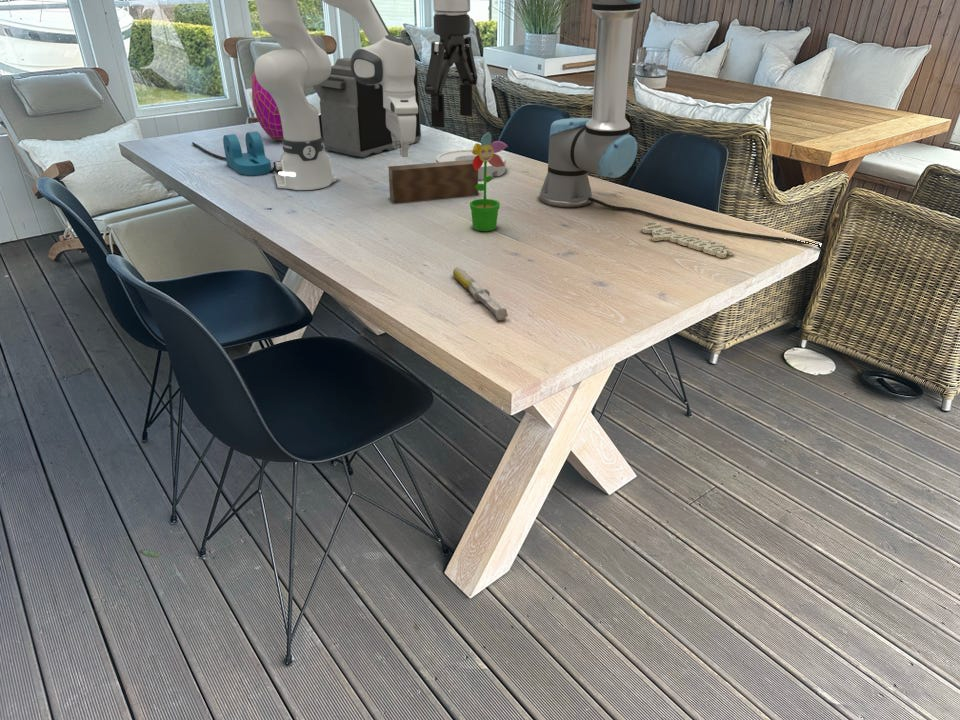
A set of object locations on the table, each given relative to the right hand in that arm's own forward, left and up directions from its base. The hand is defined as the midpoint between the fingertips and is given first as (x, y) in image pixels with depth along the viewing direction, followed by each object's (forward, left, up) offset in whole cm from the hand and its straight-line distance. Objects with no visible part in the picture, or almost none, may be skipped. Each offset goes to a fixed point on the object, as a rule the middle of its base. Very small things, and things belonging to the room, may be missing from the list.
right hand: (452, 121), depth 151 cm
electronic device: (+76, -81, -31) cm, 116 cm away
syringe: (-16, +21, -31) cm, 40 cm away
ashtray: (+28, -68, -31) cm, 80 cm away
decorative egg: (+111, -74, -31) cm, 137 cm away
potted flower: (0, -19, -31) cm, 36 cm away
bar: (+25, -37, -31) cm, 54 cm away
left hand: (+32, -30, -17) cm, 47 cm away
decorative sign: (-49, -32, -31) cm, 66 cm away
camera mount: (+94, -36, -31) cm, 106 cm away
